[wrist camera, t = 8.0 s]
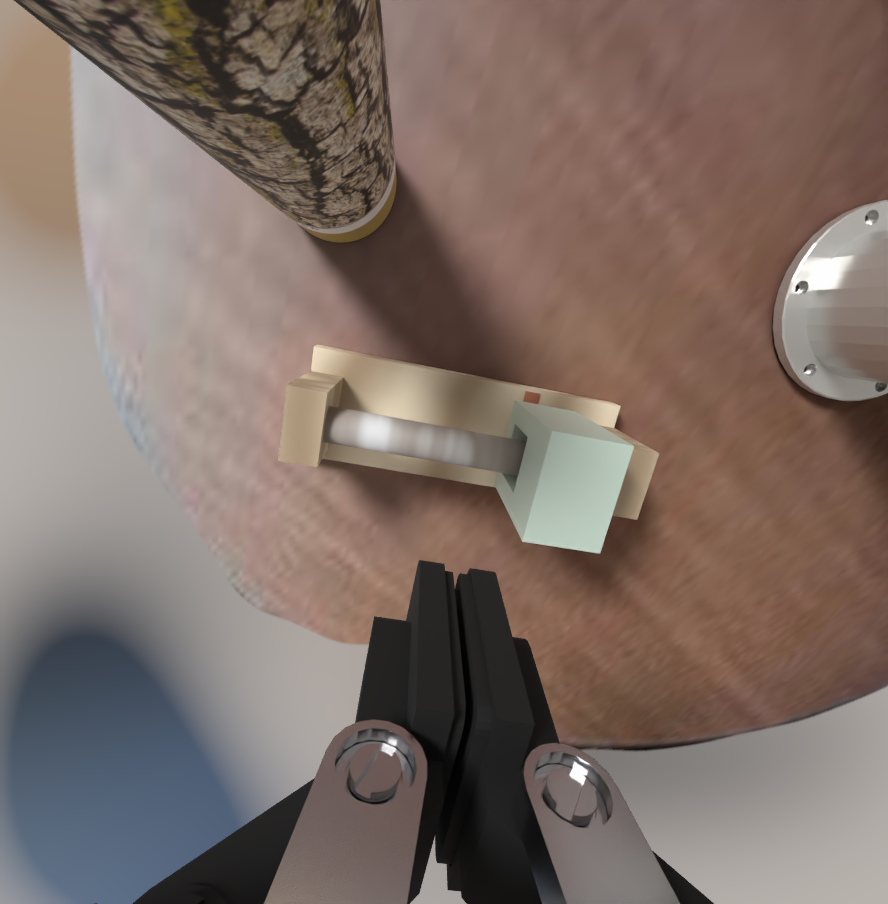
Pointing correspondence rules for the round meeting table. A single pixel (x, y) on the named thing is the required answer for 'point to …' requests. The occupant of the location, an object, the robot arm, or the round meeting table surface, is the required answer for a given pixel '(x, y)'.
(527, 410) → the collar
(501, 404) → the rod stand
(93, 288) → the round meeting table surface
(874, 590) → the round meeting table surface
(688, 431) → the round meeting table surface
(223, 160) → the paper tube
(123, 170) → the round meeting table surface
